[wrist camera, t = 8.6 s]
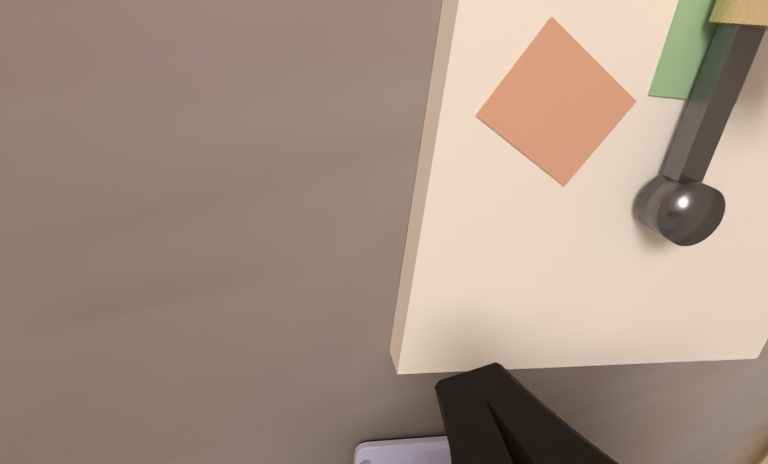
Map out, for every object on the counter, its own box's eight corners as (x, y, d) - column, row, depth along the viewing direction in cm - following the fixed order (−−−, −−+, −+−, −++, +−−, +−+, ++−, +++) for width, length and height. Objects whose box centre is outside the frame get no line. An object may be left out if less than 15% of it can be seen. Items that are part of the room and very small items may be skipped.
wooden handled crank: (677, 228, 19) (802, 301, 15) (628, 226, 19) (742, 301, 14) (787, -39, 15) (1000, -52, 11) (730, -52, 15) (929, -70, 10)
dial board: (731, 339, 25) (759, 359, 24) (389, 350, 21) (398, 375, 20) (902, -6, 19) (953, -6, 17) (456, -88, 15) (476, -96, 13)
